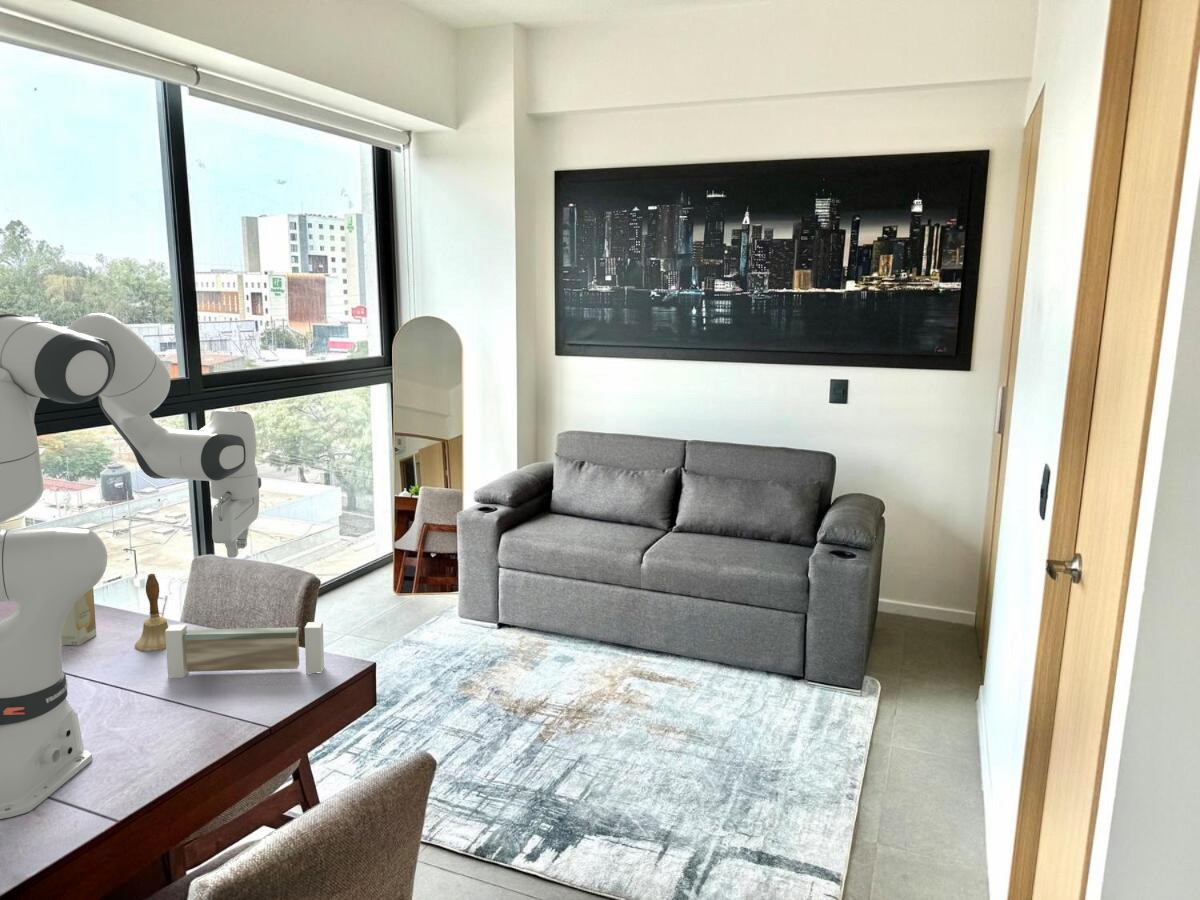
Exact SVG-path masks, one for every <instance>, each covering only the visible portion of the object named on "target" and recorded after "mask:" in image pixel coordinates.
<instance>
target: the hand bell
mask: <svg viewBox="0 0 1200 900" xmlns="http://www.w3.org/2000/svg"><path fill="white" fill-rule="evenodd" d="M145 593H146V594H145V595H146V597H147V600H148V602H149V614H150V615H149V616H150V617H148V618H147V619H145V620H144V621H143V627H142V633H141V635H140V638H139V639H138V640H137V641H136V642H135V643H134V648H135V649H136V650H137V651H140V652H141V651H142V652H157V651H163V650H166V636H165V630H166V629H167V628H168V627H169V626H168V620H167V618H166V617H163V616H160V611H159V604H158V603H159V601H158V600H159V596H160V584H159V581H158V579H157V577H156V574H155V573H148V575H147V578H146V582H145Z"/></svg>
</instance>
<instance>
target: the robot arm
mask: <svg viewBox="0 0 1200 900" xmlns="http://www.w3.org/2000/svg"><path fill="white" fill-rule="evenodd" d="M170 387H171V376H170V372H169V370H168V369H167V366H166V365H165V364H164V362H163V361H162V360H161V359H160V357H159V356H158V355H157V354H156V353H155V352H154V350H153V349H152V348H151V347H150V346H149V345H148V344H147V343H146V342H145V341H144V340H143V339H142V338H141V337H140V336H139V335H137V334H136V333H135V332H134V331H133V330H132V329H131V328H129V327H128V325H126V324H124V322H121V320H119V319H117V318H116V317H114V316H112V315H109V314H107V313H103V312H100V313H99V312H97V313H96V312H95V313H94V312H93V313H88V314H85V315H82V316H80V317H77V318H76V319H75V320H73V321H72V322H70V324H69V325H68V326H67V328H65V327H61V326H58V325H57V324H54V323H52V322H50V321H45V320H41V319H34V318H32V317H31V318H29V317H25V316H24V317H23V316H21V315H18V314H13V313H0V603H6V602H11V603H12V602H15V603H17V605H18V611H16V612H15V613H13V614H12V615H11V616H7V617H6V618H4V619H3V620H1V621H0V820H2V819H3V820H4V819H8V818H12V817H16V816H20V815H23V814H25V813H29V812H31V811H33V809H35V808H36V807H38V805H40V804H41V803H43V801H45V800H46V799H48V798H49V797H50V796H51V795H52V794H53V793H55V792H56V791H57V790H58V789H59V788H61V787H62V786H63V785H65V783H66V782H68V781H69V780H70V779H72V778H73V777H74V776H75V775H76V774H78V773H79V772H80V771H81V770H83V769H84V768H85V767H86V766H87V765H89V764H90V763H91V762H92V761H93V760H94V758H93V755H92V752H91V751H90V750H88V749H85V748H84V744H83V738H82V731H81V726H80V722H79V716H78V713H77V712H76V710H74V709H73V707H72V706H71V705H70V703H69V701H68V699H67V696H68V679H67V677H66V673H65V671H63V664H62V645H61V635H62V629H63V625H64V622H65V619H66V617H67V615H68V613H69V611H70V610H71V608H72V607H73V605H74V604H75V603H76V602H77V600H78V599H79V598H80V597H81V596H82V595H84V594H85V593H86V592H87V591H89V590H90V589H91V588H93V589H94V587H96V585H97V584H98V583H99V582H100V581H101V579H102V577H104V574H105V572H106V569H107V567H108V552H107V549H106V546H105V543H104V542H103V541H102V539H101V537H100V536H99V535H98V534H97V533H96V532H94V531H93V530H91V529H85V528H77V527H67V526H51V527H39V528H38V527H35V528H25V529H24V528H23V529H4V528H2V527H1V525H2V524H3V523H6V522H7V521H9V520H11V519H13V518H15V517H18V516H19V515H21V514H23V513H25V512H26V511H29V510H30V509H31V508H32V507H33V506H35V505H36V504H37V502H38V501H39V500H40V499H41V497H42V496H43V493H44V480H43V479H44V478H43V470H42V463H41V461H42V460H41V454H40V448H39V439H38V434H37V429H36V425H35V413H36V410H37V408H38V404H39V402H40V400H41V398H43V399H48V400H51V401H53V402H57V403H62V404H72V405H73V404H83V403H86V402H90V401H92V400H93V399H95V398H97V397H98V404H99V406H100V409H101V410H102V413H103V414H104V415H105V417H106V418H107V419H108V421H109V422H110V423H111V425H112V426H113V427H114V429H115V430H116V431H117V432H118V434H119V436H120V437H122V439H123V440H124V441H125V443H126V444H127V445H128V446H129V448H130V449H131V451H132V453H133V455H134V456H135V460H136V461H137V463H138V464H137V465H139V467H140V469H141V470H142V472H143V473H144V474H146V476H148V477H150V478H153V479H161V480H162V479H175V480H176V479H177V480H178V479H179V480H187V481H189V480H190V481H203V482H204V481H206V482H210V493H211V494H210V497H212V498H213V499H215V500H218V503H216V504H215V505H213V507H212V513H211V514H212V516H211V517H212V518H211V537H212V541H213V543H214V544H224V545H225V548H226V555H227V558H229V559H230V558H236V557H237V556H239V549H242V550H244V549H245V548H246V547H248V535H249V529H250V528H249V526H251V525H252V524H253V523H254V522H255V520H256V521H257V518H258V516H259V509H260V508H259V505H260V490H259V489H261V487H262V478H261V477H260V476H258V469H257V465H256V455H257V449H258V448H257V437H256V436H257V435H256V429H255V424H254V420H253V417H252V415H251V414H250V413H248V412H246V411H244V410H243V411H242V410H233V409H220V408H218V409H215V410H212V411H211V412H210V416H209V421H208V422H207V424H206V425H204V426H203V427H201V428H200V429H199V430H193V429H192V430H191V429H180V428H179V429H178V428H171V427H166V426H162V425H159V424H158V423H156V422H155V420H154V419H153V418H152V416H151V415H150V414H151V413H152V412H154V411H156V410H157V409H158V408H159V407H160V406H161V404H162V403H163V402H164V401H165V399H166V398H167V397H168V395H169V393H170Z"/></svg>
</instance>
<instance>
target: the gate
mask: <svg viewBox="0 0 1200 900" xmlns="http://www.w3.org/2000/svg"><path fill="white" fill-rule="evenodd" d="M299 639H300V638H299V626H298V627H295V626H294V627H263V628H262V627H258V628H257V627H256V628H255V627H254V628H253V627H250V628H249V627H248V628H245V627H244V628H211V629H210V628H209V629H208V628H206V629H202V628H201V629H200V628H199V629H187V633H186V634H185V640H186V658H187V672H188V673H189V672H193V673H195V672H227V671H262V670H266V671H267V670H294V669H295V670H297V669H298V668H299V666H300V643H299V642H300V641H299Z"/></svg>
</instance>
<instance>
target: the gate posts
mask: <svg viewBox="0 0 1200 900" xmlns="http://www.w3.org/2000/svg"><path fill="white" fill-rule="evenodd" d="M187 625H188V624H170V625H169V626H168V628H167V629H166V630H165V636H166V649H165V650H166V666H167V667H166V668H167V678H168V679H179V678H180V679H184V678H185V677H186V675H188V673H189V672H187V658H186V640H185V634H186V633H187V631H188V628H187V627H188V626H187ZM304 648H305V649H304V650H305V651H304V654H305V675H309V674H308V673H317V672H321V671H322V669H323V667H324V668H325V656H324V655H325V654H324V653H325V652H324V622H323V621H311V622H310V621H309V622H307V623H306V625H305V626H304ZM323 670H324V669H323ZM322 672H323V671H322ZM182 677H183V678H182Z"/></svg>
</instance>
